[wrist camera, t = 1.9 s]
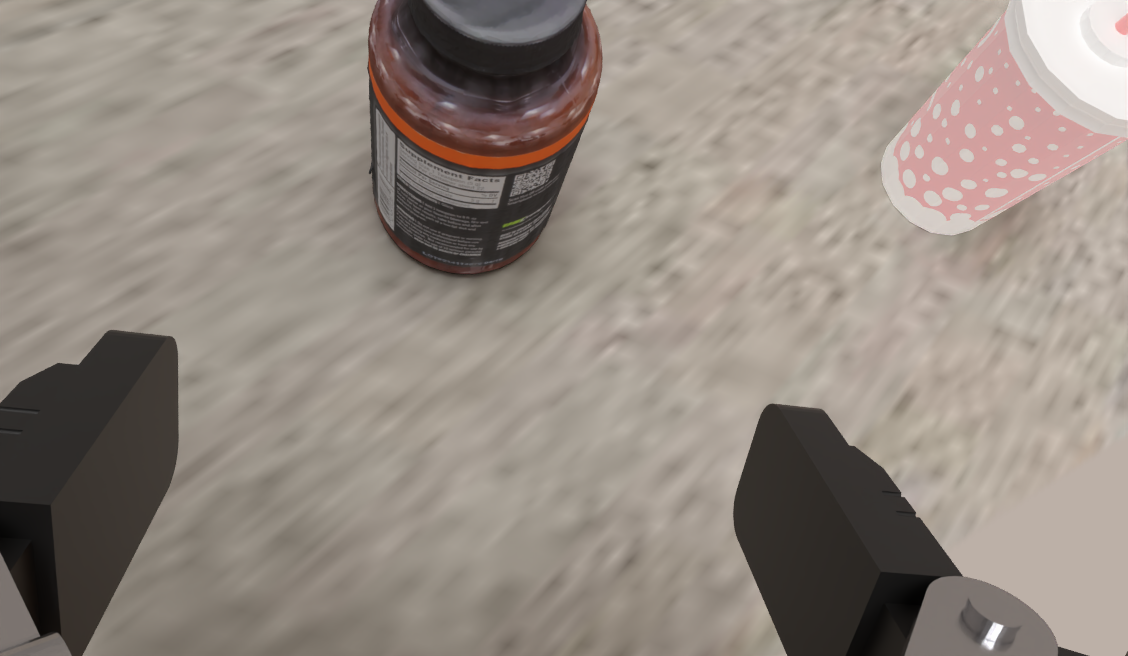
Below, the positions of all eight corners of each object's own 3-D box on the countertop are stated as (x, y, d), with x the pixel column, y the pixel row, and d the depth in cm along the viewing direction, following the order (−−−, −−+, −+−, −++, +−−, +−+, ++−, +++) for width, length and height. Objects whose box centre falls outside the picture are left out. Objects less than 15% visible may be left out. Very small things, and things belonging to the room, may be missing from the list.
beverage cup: (979, 111, 35) (1325, -193, 22) (1026, 248, 34) (1433, 4, 21) (844, 115, 34) (1131, -207, 21) (886, 259, 32) (1229, 4, 19)
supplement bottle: (435, 93, 31) (463, -187, 20) (578, 182, 31) (681, -53, 20) (334, 218, 28) (308, -24, 18) (490, 314, 28) (554, 128, 18)
